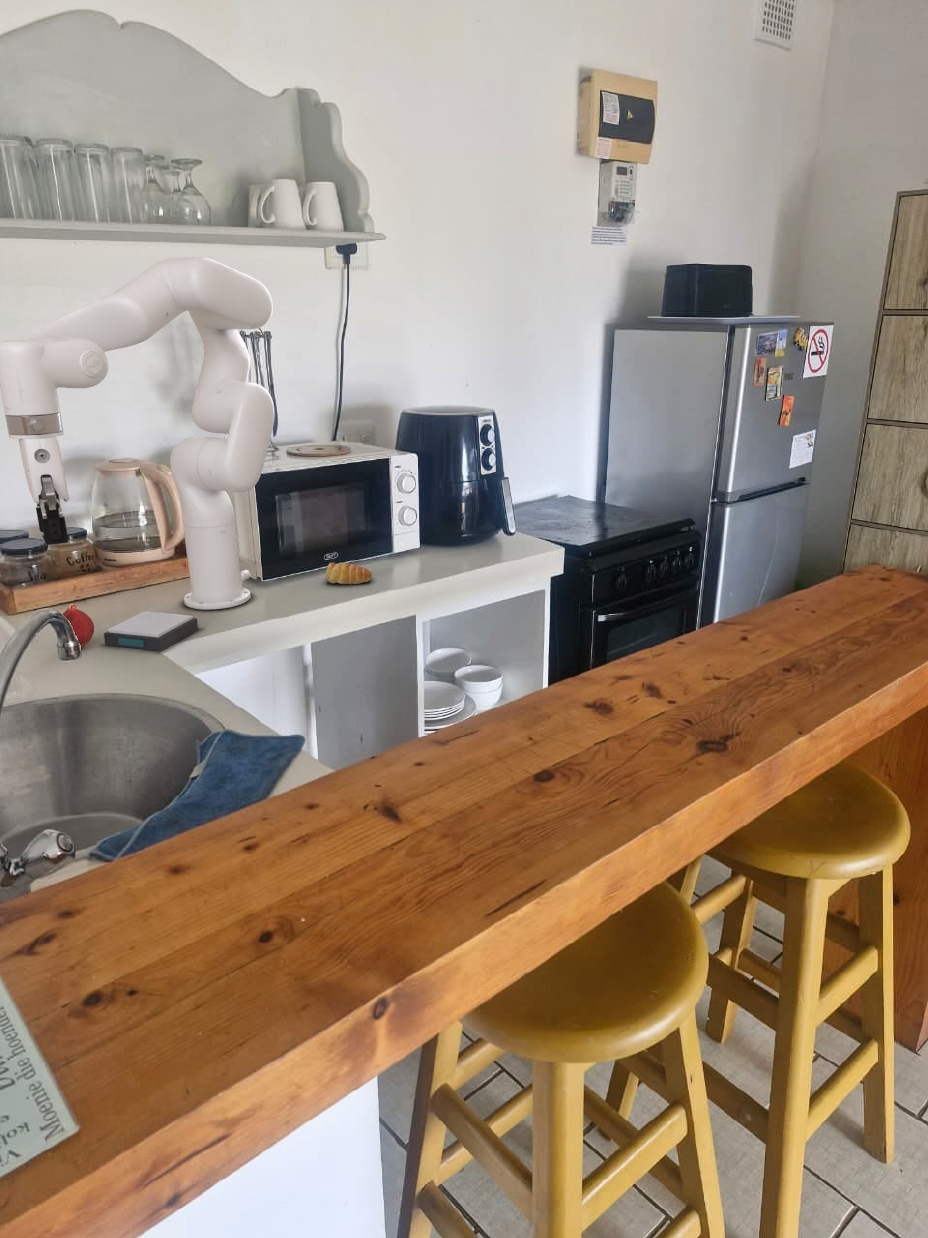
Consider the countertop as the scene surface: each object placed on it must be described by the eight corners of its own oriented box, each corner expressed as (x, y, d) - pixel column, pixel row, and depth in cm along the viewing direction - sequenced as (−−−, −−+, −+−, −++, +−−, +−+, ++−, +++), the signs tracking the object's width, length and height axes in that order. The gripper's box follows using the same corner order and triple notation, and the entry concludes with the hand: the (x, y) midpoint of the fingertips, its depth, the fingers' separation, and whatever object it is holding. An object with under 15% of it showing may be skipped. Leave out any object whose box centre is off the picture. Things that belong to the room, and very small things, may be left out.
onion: (83, 657, 142) (75, 610, 139) (52, 655, 143) (43, 609, 141) (104, 644, 147) (96, 600, 145) (73, 642, 149) (66, 598, 146)
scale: (145, 624, 157) (143, 610, 156) (198, 629, 154) (196, 614, 153) (104, 646, 147) (101, 630, 146) (160, 652, 144) (157, 636, 143)
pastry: (375, 577, 184) (374, 559, 183) (368, 586, 178) (367, 568, 177) (331, 576, 186) (330, 558, 184) (323, 585, 179) (322, 567, 178)
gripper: (68, 429, 125) (86, 545, 131) (56, 419, 139) (73, 524, 145) (10, 433, 122) (32, 552, 127) (4, 422, 136) (23, 529, 142)
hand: (54, 537), depth 136 cm, fingers open, 9 cm apart
